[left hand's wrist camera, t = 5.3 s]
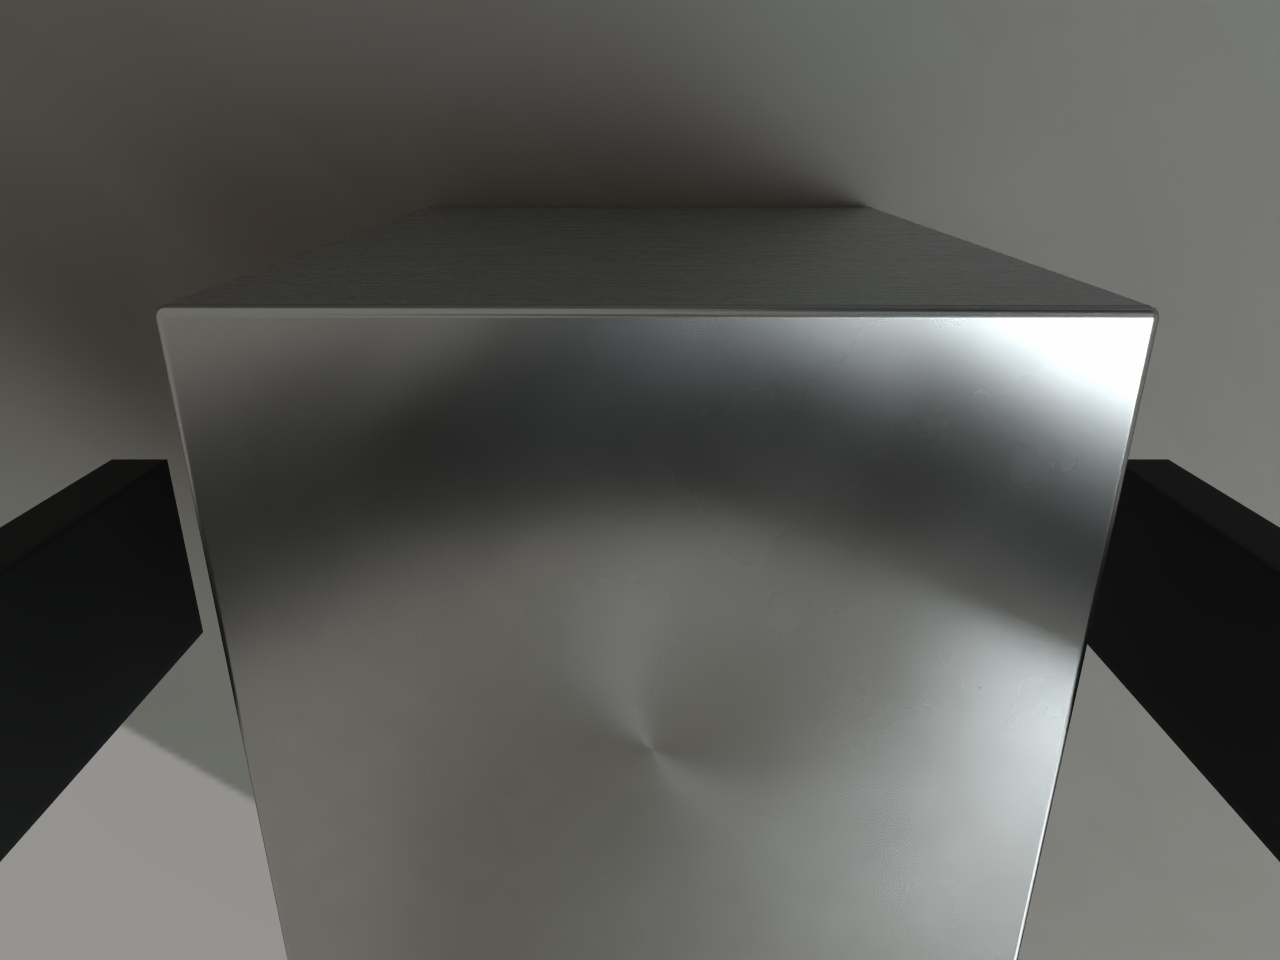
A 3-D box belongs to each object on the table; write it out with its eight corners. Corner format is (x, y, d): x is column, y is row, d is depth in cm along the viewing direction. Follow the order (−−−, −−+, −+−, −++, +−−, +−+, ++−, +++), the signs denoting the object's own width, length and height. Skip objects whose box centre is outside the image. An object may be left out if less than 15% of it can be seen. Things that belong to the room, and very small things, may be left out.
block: (835, 622, 18) (1000, 1055, 10) (462, 620, 18) (302, 1051, 10) (874, 206, 15) (1165, 308, 7) (427, 207, 15) (148, 306, 7)
